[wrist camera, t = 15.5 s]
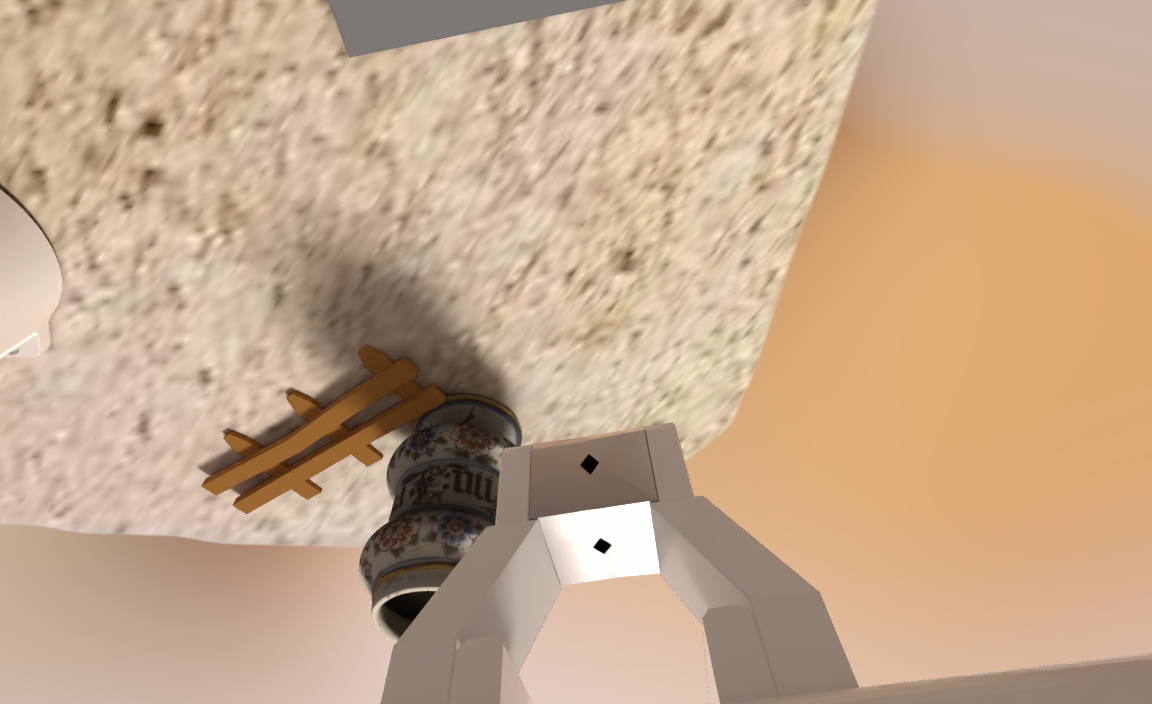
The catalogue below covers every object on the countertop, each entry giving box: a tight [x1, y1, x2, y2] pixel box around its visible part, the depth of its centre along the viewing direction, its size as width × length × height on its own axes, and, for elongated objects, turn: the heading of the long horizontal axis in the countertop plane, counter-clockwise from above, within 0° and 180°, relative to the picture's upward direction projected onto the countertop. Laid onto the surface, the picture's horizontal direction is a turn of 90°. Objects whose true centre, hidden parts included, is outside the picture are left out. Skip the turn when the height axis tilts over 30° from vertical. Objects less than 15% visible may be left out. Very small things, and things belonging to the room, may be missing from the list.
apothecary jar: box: [359, 394, 522, 644], centre depth 45 cm, size 12×12×18 cm
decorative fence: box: [202, 345, 446, 514], centre depth 51 cm, size 25×2×10 cm
